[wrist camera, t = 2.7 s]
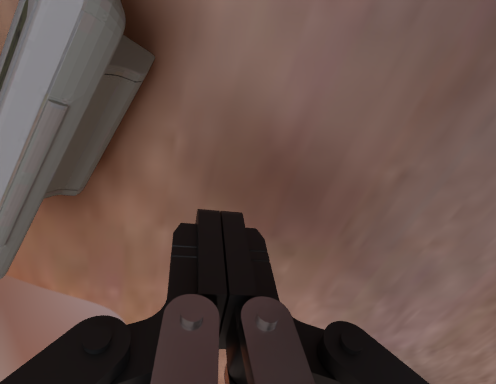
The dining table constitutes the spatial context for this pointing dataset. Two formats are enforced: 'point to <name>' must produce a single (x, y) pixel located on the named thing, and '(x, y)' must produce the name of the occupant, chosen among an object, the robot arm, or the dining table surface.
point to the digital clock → (59, 103)
